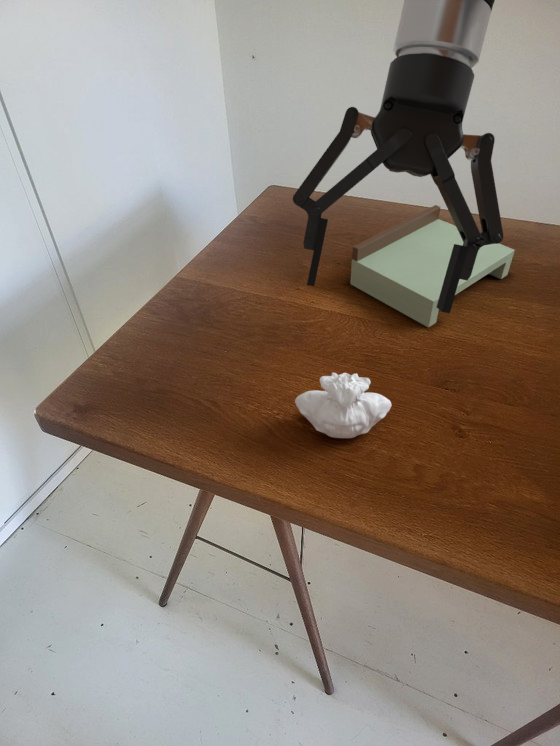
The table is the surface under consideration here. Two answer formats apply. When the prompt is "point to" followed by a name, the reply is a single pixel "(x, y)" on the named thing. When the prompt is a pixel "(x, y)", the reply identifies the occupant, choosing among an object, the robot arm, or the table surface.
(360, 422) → the bust
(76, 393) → the table surface
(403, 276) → the shoe shelf
